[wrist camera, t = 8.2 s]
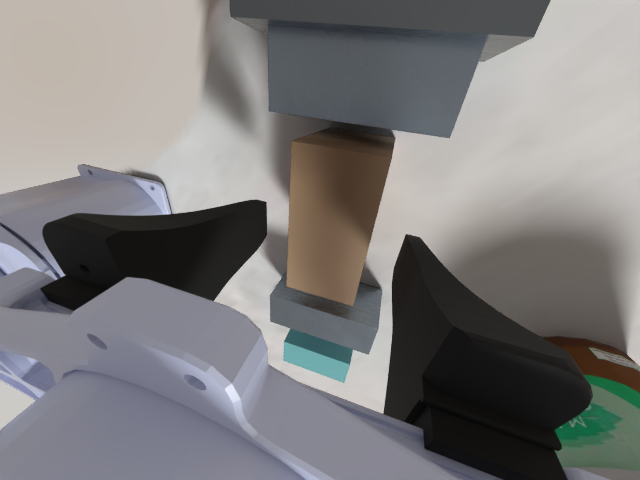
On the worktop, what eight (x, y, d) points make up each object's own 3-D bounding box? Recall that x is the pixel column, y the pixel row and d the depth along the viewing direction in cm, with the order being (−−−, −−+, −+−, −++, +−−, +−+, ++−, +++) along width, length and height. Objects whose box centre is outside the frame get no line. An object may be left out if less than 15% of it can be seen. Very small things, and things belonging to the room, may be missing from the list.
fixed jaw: (284, 106, 14) (237, 108, 10) (287, -37, 11) (220, -118, 7) (456, 131, 12) (483, 146, 8) (520, -33, 9) (614, -140, 5)
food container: (577, 294, 15) (794, 534, 7) (655, 345, 15) (962, 641, 7) (435, 367, 22) (455, 528, 14) (489, 401, 22) (542, 580, 14)
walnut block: (317, 237, 19) (286, 286, 14) (329, 127, 14) (291, 141, 9) (366, 249, 18) (353, 306, 13) (395, 137, 14) (391, 158, 9)
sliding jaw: (288, 328, 25) (271, 362, 22) (291, 264, 21) (270, 295, 17) (360, 353, 24) (353, 393, 21) (382, 289, 19) (378, 328, 16)
